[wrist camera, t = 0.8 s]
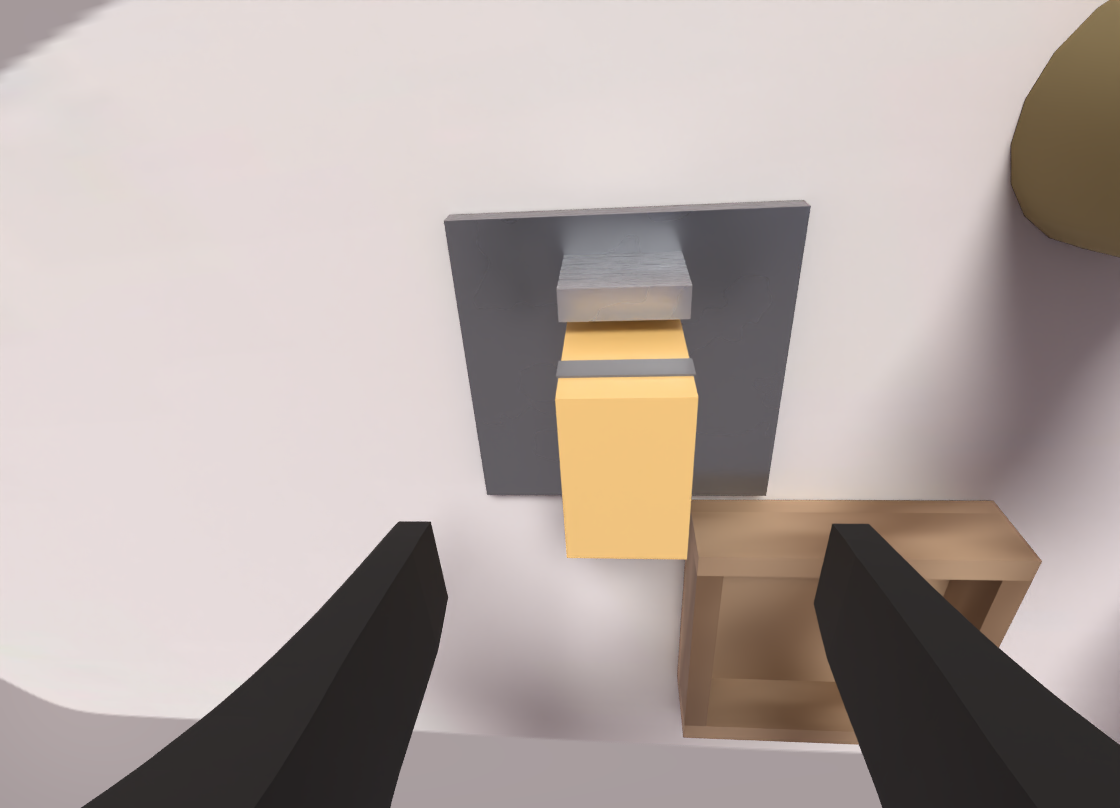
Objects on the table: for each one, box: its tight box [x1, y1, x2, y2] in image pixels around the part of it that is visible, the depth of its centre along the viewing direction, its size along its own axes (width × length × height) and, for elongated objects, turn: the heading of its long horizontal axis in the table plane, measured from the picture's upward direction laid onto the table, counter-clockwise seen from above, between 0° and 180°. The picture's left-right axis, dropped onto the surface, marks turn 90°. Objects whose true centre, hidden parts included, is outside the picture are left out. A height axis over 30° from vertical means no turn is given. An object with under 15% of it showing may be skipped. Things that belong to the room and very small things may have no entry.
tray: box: [677, 500, 1042, 744], centre depth 21 cm, size 10×10×3 cm
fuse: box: [555, 319, 698, 559], centre depth 15 cm, size 3×4×5 cm, turn 3°
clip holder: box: [444, 200, 811, 496], centre depth 17 cm, size 9×9×3 cm
